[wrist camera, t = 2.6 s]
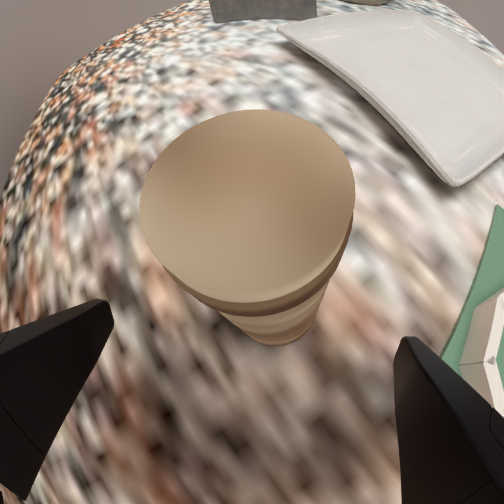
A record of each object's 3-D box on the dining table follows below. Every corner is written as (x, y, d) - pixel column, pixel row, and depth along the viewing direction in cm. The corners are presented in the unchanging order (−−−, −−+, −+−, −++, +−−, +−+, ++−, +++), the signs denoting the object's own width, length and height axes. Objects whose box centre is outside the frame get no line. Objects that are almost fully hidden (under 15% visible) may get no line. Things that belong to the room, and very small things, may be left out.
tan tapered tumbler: (295, 361, 17) (302, 343, 5) (220, 325, 18) (99, 237, 6) (330, 286, 18) (382, 140, 6) (258, 255, 20) (207, 94, 8)
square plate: (274, 49, 30) (271, 24, 27) (414, 26, 32) (417, 8, 28) (438, 211, 20) (458, 184, 16) (542, 135, 21) (553, 117, 18)
